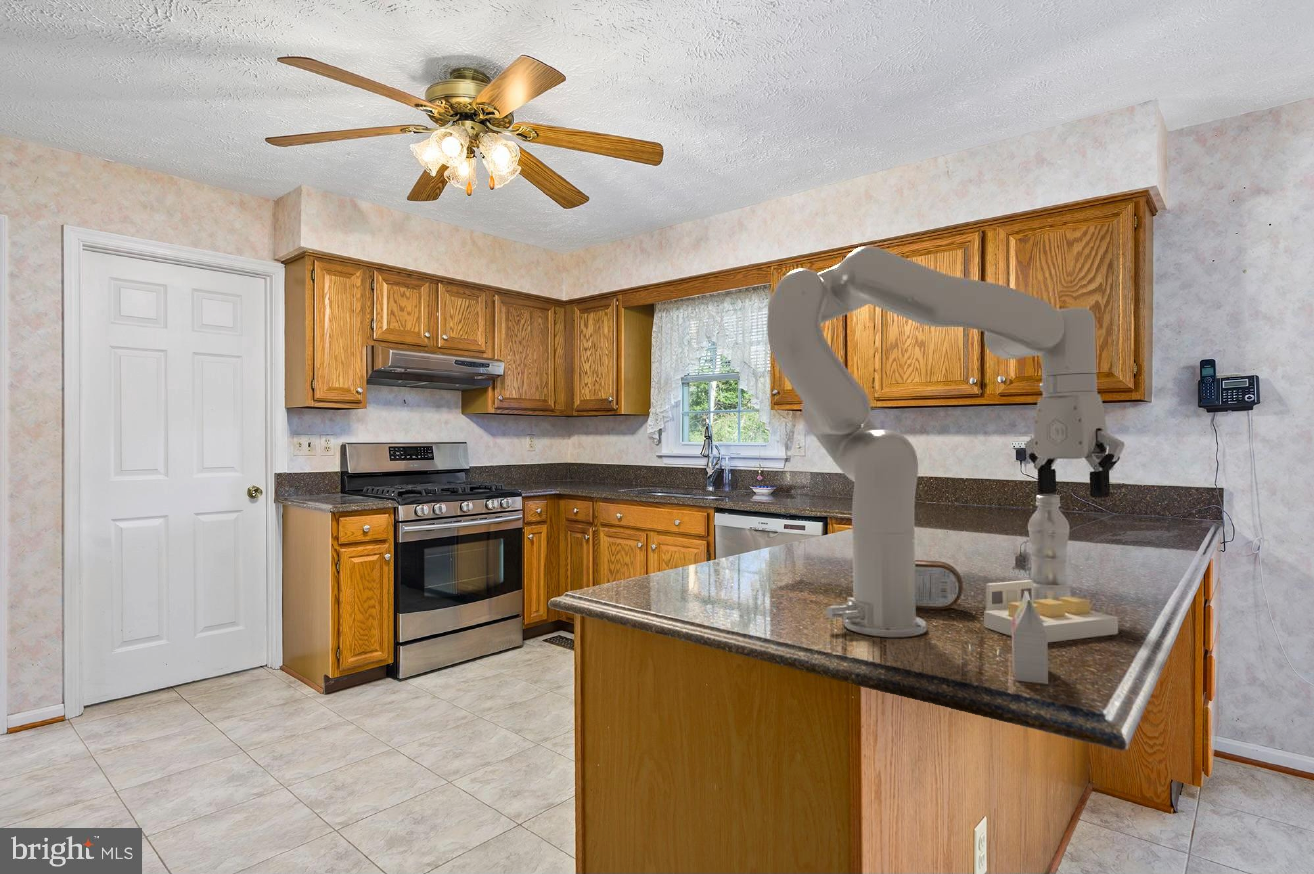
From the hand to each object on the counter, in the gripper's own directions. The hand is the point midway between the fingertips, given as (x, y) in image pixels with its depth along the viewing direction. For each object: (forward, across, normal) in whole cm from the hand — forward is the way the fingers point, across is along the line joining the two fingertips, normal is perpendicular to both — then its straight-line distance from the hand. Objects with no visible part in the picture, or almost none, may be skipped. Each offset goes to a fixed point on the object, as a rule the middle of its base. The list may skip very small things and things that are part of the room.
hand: (1072, 495), depth 113 cm
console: (+21, 0, -6) cm, 22 cm away
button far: (+20, 0, 0) cm, 20 cm away
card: (+21, -8, -6) cm, 23 cm away
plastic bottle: (+21, -10, +5) cm, 24 cm away
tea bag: (+21, +15, -25) cm, 36 cm away
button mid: (+19, 0, -6) cm, 20 cm away
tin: (+21, -20, -14) cm, 32 cm away
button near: (+19, 0, -10) cm, 22 cm away
